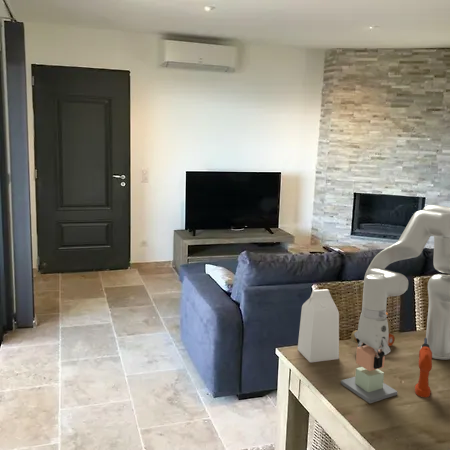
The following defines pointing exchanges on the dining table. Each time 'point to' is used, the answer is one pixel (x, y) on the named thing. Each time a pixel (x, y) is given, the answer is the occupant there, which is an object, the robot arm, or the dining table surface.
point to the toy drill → (424, 370)
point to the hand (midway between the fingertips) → (370, 362)
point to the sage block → (369, 379)
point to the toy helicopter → (390, 339)
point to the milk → (319, 328)
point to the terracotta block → (367, 357)
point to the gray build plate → (369, 396)
